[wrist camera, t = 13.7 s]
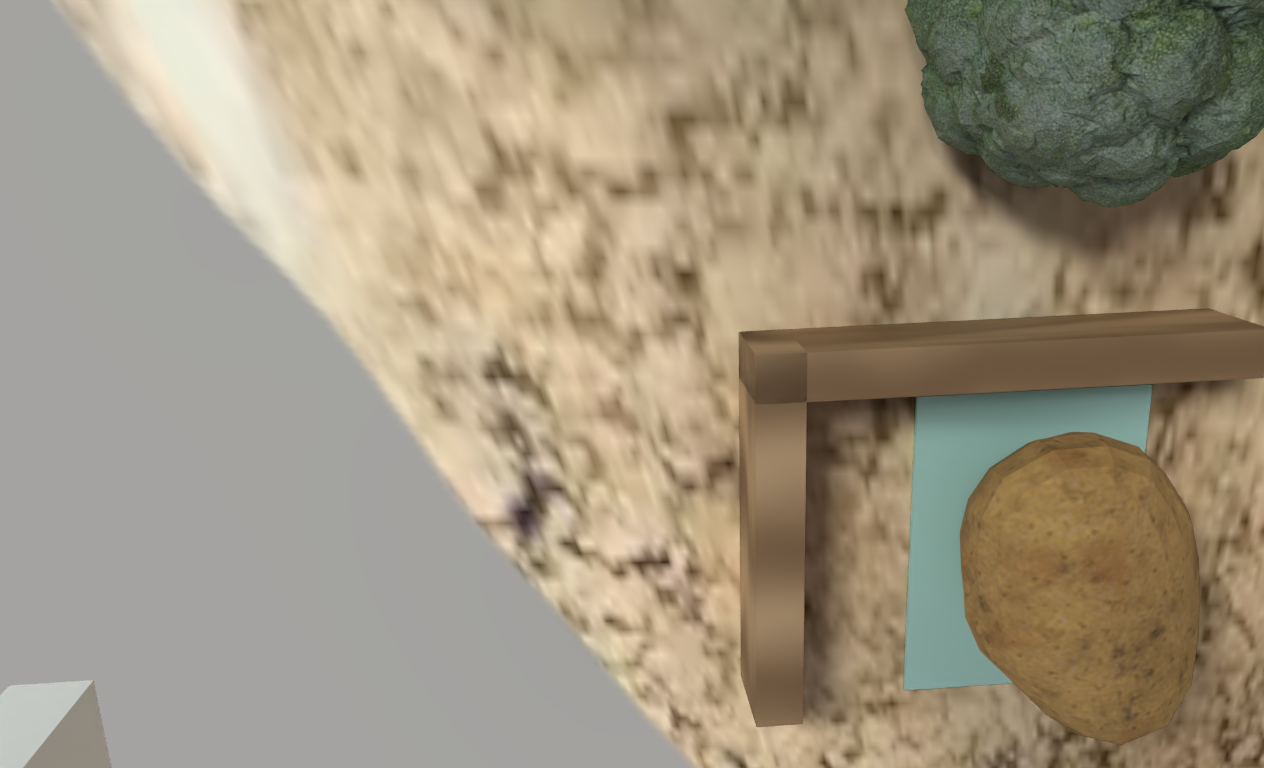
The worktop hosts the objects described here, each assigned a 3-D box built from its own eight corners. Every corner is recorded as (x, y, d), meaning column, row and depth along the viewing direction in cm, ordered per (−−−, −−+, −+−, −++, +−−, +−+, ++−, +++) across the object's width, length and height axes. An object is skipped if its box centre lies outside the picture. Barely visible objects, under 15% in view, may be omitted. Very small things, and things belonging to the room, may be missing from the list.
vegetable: (1357, 17, 39) (1199, 319, 35) (1030, -18, 46) (868, 227, 42) (1441, -320, 29) (1238, 40, 25) (1013, -297, 36) (802, -15, 32)
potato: (973, 703, 48) (1050, 818, 41) (891, 444, 44) (960, 518, 37) (1168, 632, 48) (1284, 735, 40) (1103, 366, 44) (1217, 423, 36)
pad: (915, 395, 44) (917, 397, 44) (1150, 383, 45) (1152, 384, 44) (902, 688, 48) (904, 690, 48) (1118, 673, 49) (1120, 675, 48)
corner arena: (738, 331, 43) (756, 355, 39) (1208, 308, 44) (1270, 329, 40) (741, 675, 47) (756, 727, 43) (1166, 646, 48) (1218, 694, 44)
